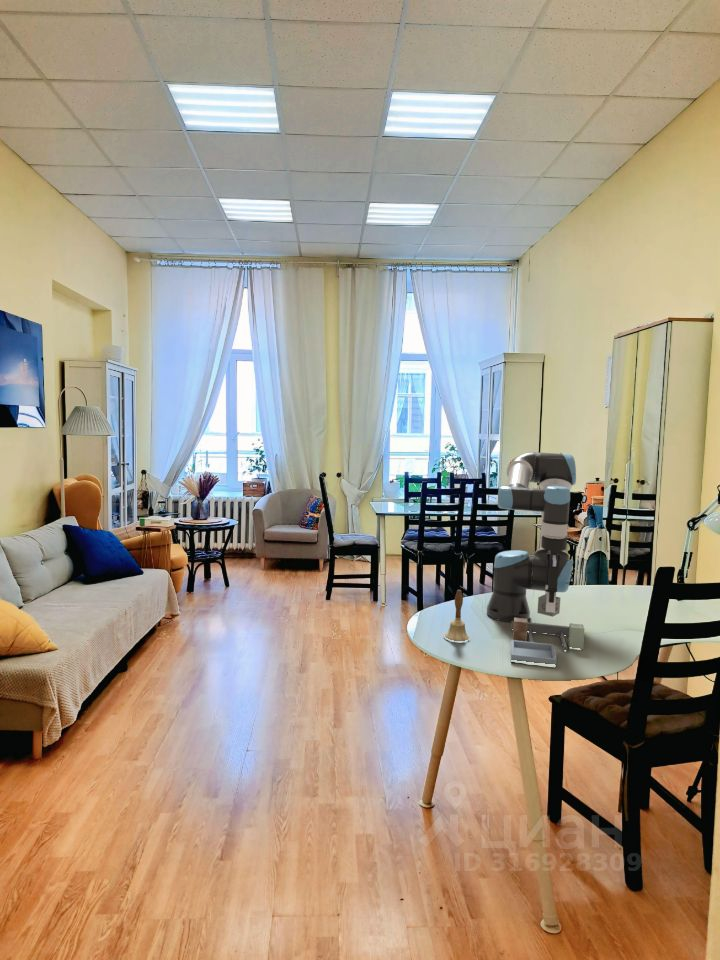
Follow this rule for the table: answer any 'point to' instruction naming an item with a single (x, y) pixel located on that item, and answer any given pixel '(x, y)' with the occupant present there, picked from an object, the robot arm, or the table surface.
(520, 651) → the slate tray
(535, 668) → the table surface
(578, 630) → the sage block
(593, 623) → the table surface
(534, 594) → the table surface
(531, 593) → the table surface
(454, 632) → the hand bell
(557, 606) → the dice cube
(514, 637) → the walnut block
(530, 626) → the grey bar frame
